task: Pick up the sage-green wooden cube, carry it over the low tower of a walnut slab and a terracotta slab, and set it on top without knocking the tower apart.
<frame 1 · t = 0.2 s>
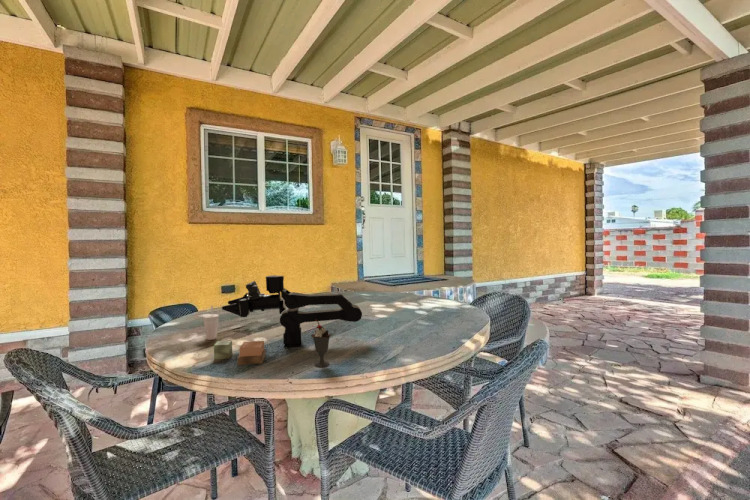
hand: (225, 305, 140), 17 cm above the table, tool horizontal, fingers open, 9 cm apart
sundae: (321, 365, 122), on the table
cube: (223, 356, 132), on the table
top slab: (252, 352, 127), point 3 cm above the table, touching bottom slab
bottom slab: (252, 361, 127), on the table, touching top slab
smoothie: (211, 338, 155), on the table
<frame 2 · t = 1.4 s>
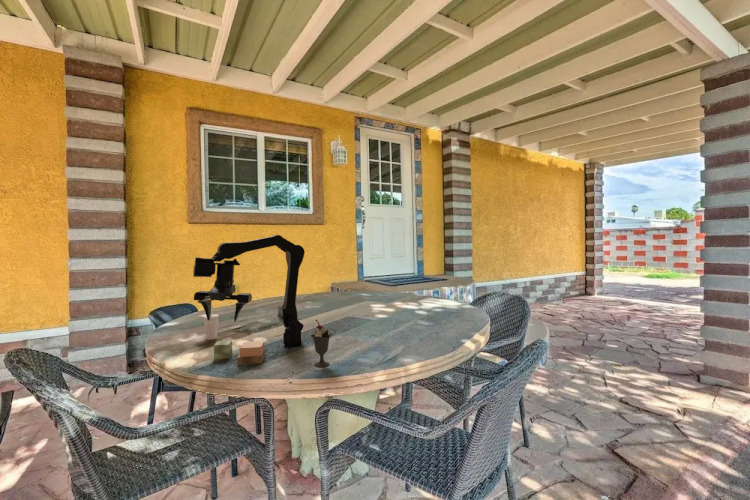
hand: (222, 320, 132), 13 cm above the table, tool pointing down, fingers open, 9 cm apart
nothing on the table moved.
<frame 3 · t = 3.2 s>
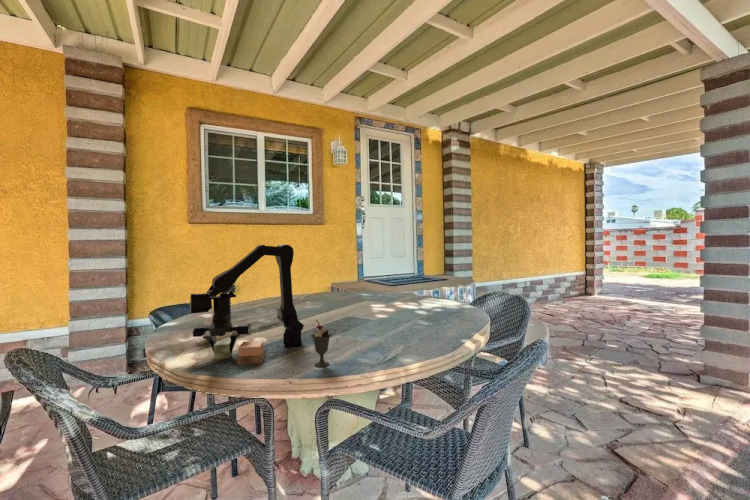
hand: (223, 353, 132), 1 cm above the table, tool pointing down, fingers closed on cube, 5 cm apart
cube: (223, 356, 132), on the table, touching gripper
everything else where it was.
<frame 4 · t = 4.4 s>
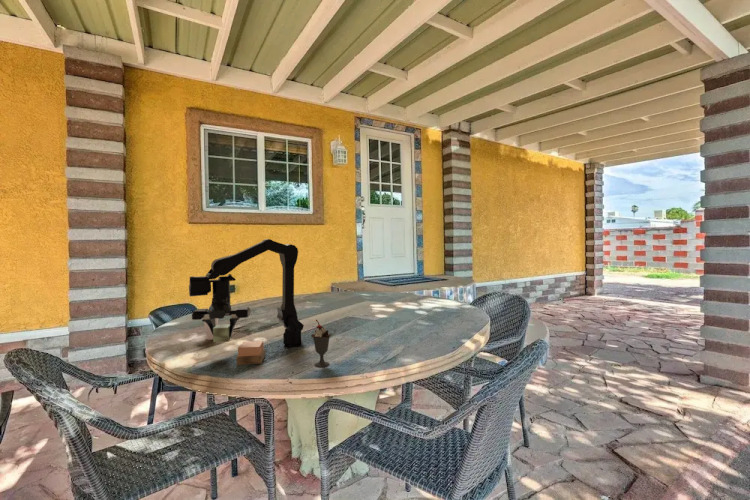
hand: (222, 336, 131), 7 cm above the table, tool pointing down, fingers closed on cube, 5 cm apart
cube: (222, 339, 131), point 6 cm above the table, touching gripper
everything else where it was.
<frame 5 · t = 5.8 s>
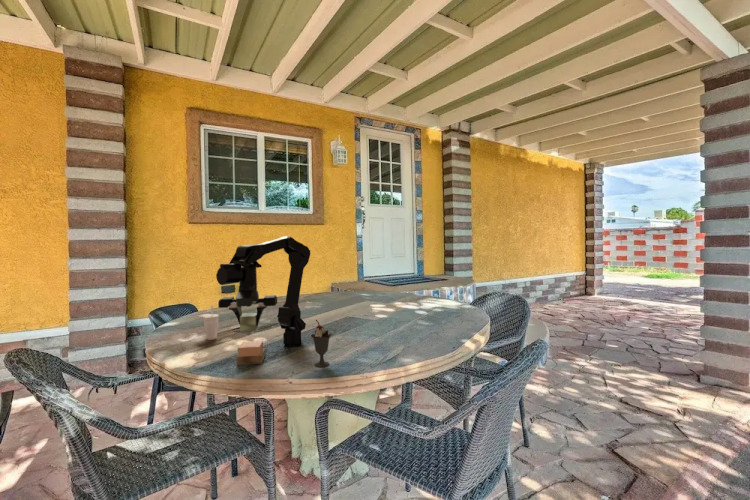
hand: (249, 326, 127), 12 cm above the table, tool pointing down, fingers closed on cube, 5 cm apart
cube: (249, 329, 127), point 11 cm above the table, touching gripper
everything else where it was.
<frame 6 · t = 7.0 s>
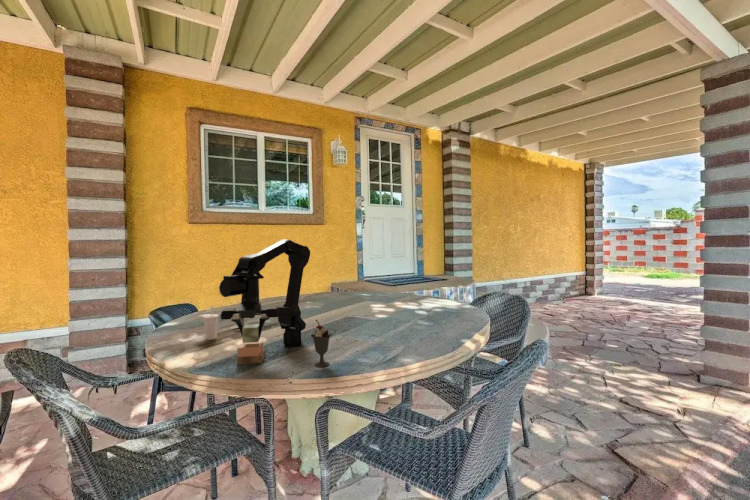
hand: (251, 337, 127), 8 cm above the table, tool pointing down, fingers closed on cube, 5 cm apart
cube: (251, 340, 127), point 7 cm above the table, touching gripper
everything else where it was.
when the fingers open (8 cm above the table, at t = 7.2 s): cube drops 2 cm, point 5 cm above the table.
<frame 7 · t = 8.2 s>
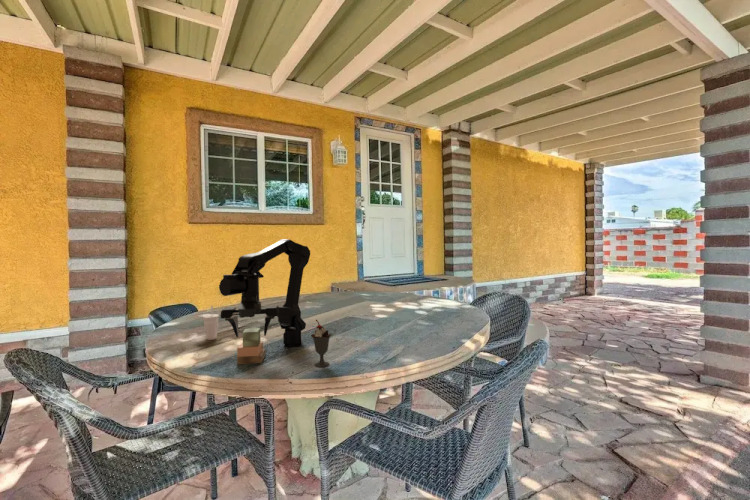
hand: (251, 336, 127), 8 cm above the table, tool pointing down, fingers open, 9 cm apart
cube: (251, 344, 128), point 5 cm above the table
everything else where it was.
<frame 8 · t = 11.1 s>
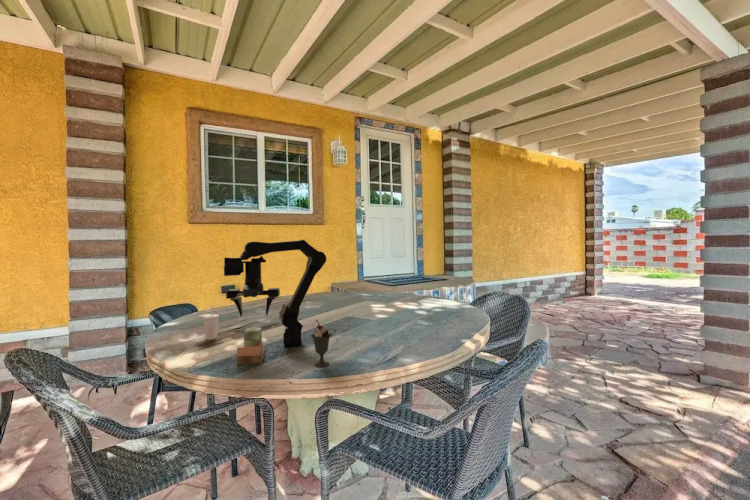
hand: (254, 315, 139), 13 cm above the table, tool pointing down, fingers open, 9 cm apart
nothing on the table moved.
at the end: cube 0.9 cm off-centre on the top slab, point 3.0 cm above the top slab's base; cube tilted 0°; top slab 0.3 cm off-centre on the bottom slab, point 3.0 cm above the bottom slab's base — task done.
